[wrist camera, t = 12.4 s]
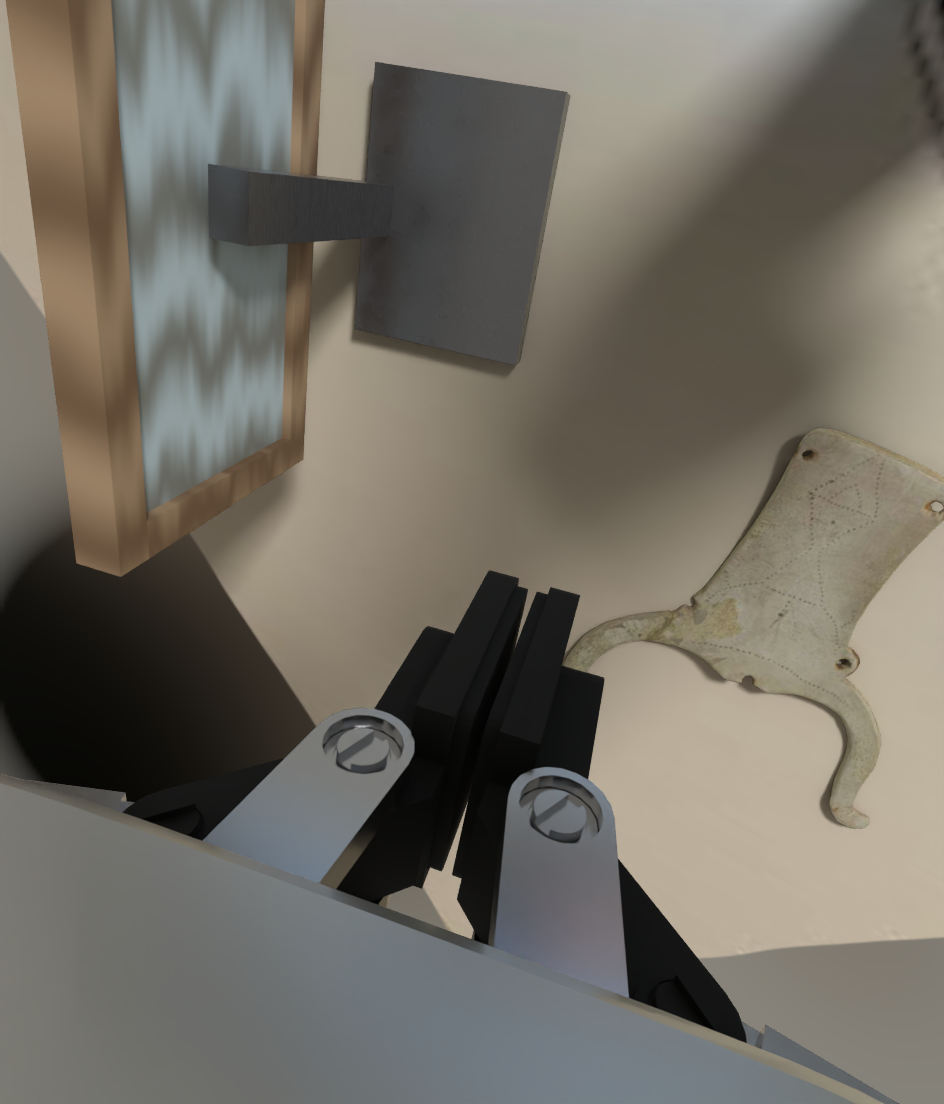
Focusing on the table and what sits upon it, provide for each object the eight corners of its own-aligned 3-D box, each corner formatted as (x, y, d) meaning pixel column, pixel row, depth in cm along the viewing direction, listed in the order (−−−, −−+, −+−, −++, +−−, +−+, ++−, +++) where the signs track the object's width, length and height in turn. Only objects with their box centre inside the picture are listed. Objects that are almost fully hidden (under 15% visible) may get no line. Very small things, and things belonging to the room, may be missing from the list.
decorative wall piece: (651, 364, 48) (525, 689, 62) (649, 372, 45) (518, 710, 60) (1104, 512, 44) (861, 821, 59) (1130, 530, 42) (869, 849, 56)
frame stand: (384, 66, 44) (204, -25, 27) (570, 95, 42) (497, 17, 25) (362, 326, 51) (211, 378, 35) (519, 361, 49) (438, 434, 33)
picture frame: (277, -173, 34) (-75, -511, 18) (332, -167, 33) (20, -510, 17) (265, 449, 49) (67, 560, 33) (303, 459, 48) (120, 576, 32)
